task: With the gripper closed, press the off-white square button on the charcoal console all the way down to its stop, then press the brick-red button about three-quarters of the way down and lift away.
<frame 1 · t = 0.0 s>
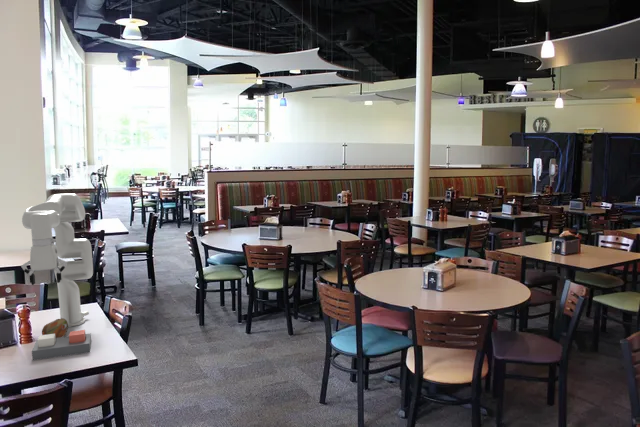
hand: (46, 283, 227), 31 cm above the table, tool pointing down, fingers open, 9 cm apart
red button: (77, 337, 237), point 5 cm above the table, slide at 0.0 cm
console: (63, 350, 236), on the table
white button: (47, 341, 233), point 5 cm above the table, slide at 0.0 cm
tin: (55, 339, 252), on the table
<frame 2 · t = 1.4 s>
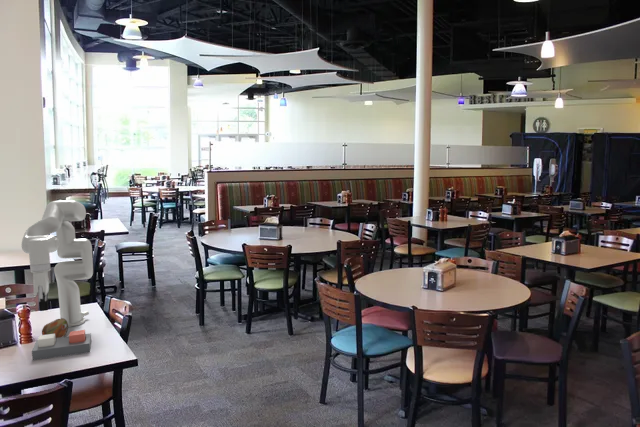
hand: (44, 310, 232), 19 cm above the table, tool pointing down, fingers closed
nothing on the table moved.
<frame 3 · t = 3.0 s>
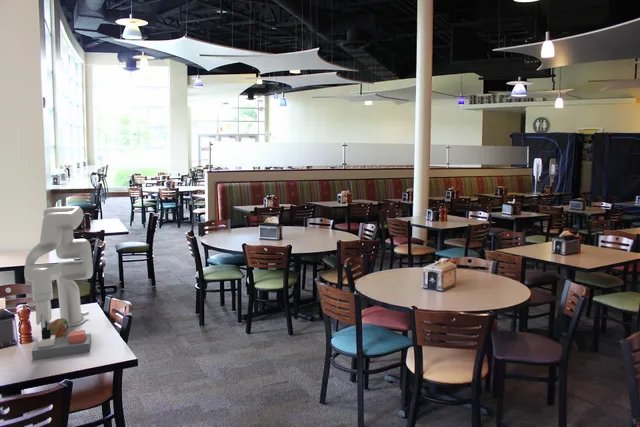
hand: (46, 338, 233), 7 cm above the table, tool pointing down, fingers closed
white button: (47, 342, 233), point 5 cm above the table, slide at 0.7 cm, touching gripper
everything else where it was.
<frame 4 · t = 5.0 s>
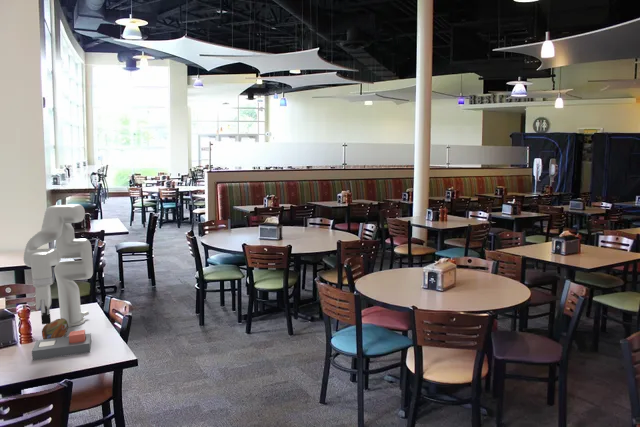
hand: (46, 323, 233), 13 cm above the table, tool pointing down, fingers closed
white button: (47, 348, 234), point 2 cm above the table, slide at 3.1 cm
everything else where it was.
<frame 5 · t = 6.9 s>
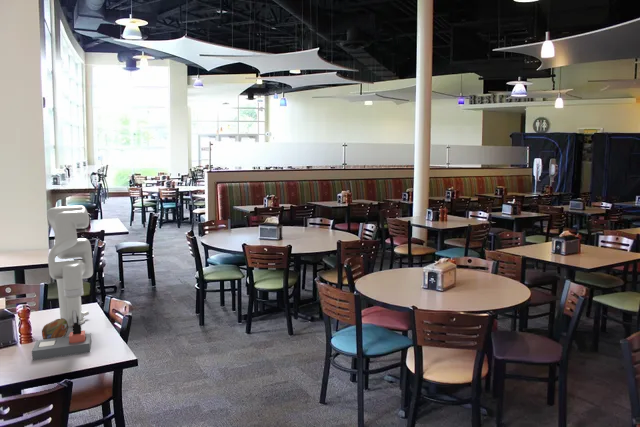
hand: (77, 333, 237), 7 cm above the table, tool pointing down, fingers closed
red button: (77, 337, 237), point 5 cm above the table, slide at 0.3 cm, touching gripper
everything else where it was.
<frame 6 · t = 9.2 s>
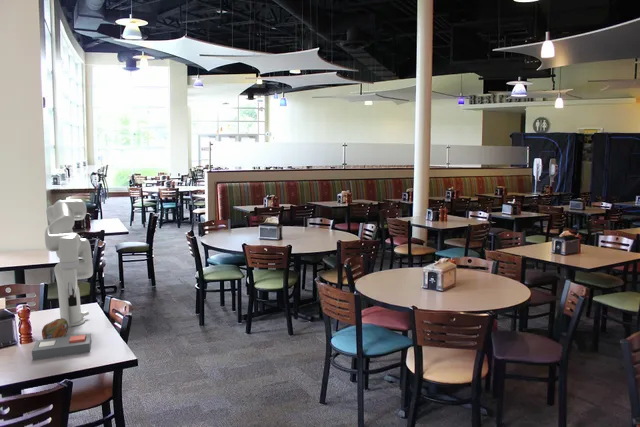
hand: (72, 305, 238), 19 cm above the table, tool pointing down, fingers closed
red button: (77, 342, 238), point 3 cm above the table, slide at 2.2 cm
everything else where it was.
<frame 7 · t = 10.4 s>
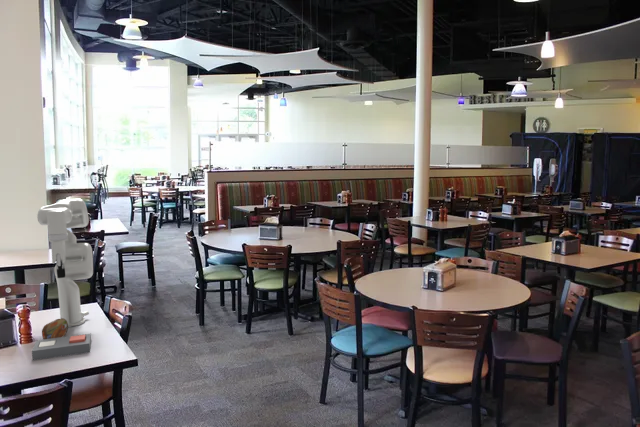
hand: (61, 277, 247), 29 cm above the table, tool pointing down, fingers closed
nothing on the table moved.
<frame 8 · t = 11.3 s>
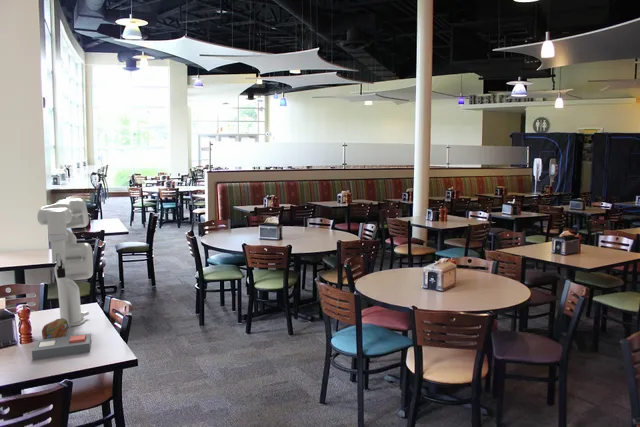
hand: (61, 277, 247), 29 cm above the table, tool pointing down, fingers closed
nothing on the table moved.
at the end: white button slide at 3.1 cm; red button slide at 2.2 cm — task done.
